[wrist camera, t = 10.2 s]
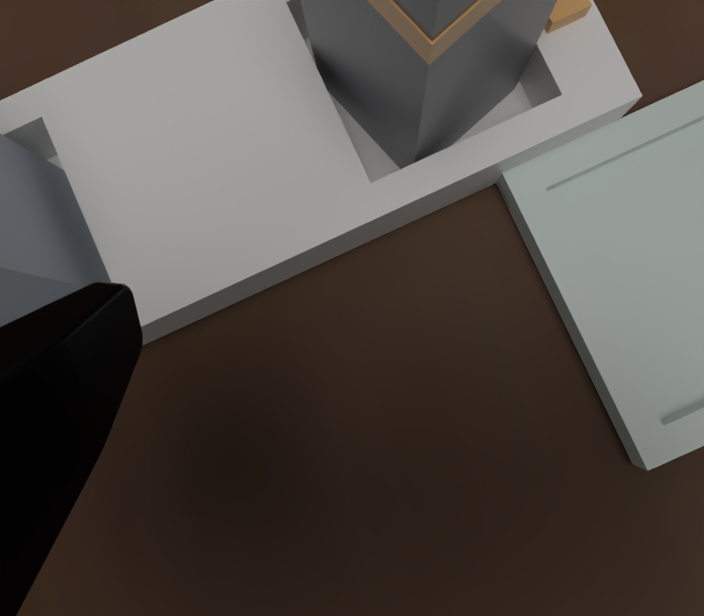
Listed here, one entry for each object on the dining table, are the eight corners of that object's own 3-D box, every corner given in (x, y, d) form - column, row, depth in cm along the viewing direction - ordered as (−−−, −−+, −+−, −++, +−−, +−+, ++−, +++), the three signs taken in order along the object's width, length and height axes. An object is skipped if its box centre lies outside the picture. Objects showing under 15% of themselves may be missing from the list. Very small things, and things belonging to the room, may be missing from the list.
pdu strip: (-49, 433, 22) (-134, 448, 18) (-132, 220, 23) (-230, 194, 19) (606, 132, 21) (651, 87, 18) (501, -76, 22) (523, -159, 18)
